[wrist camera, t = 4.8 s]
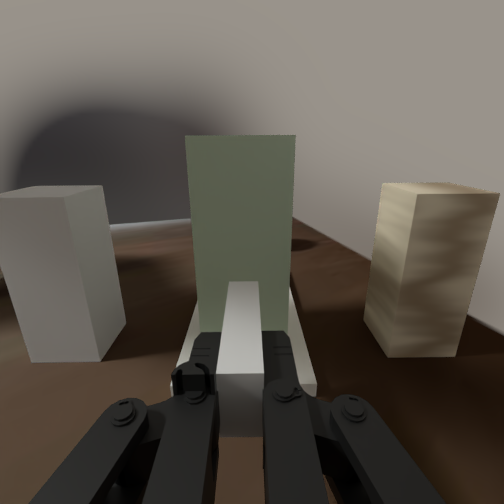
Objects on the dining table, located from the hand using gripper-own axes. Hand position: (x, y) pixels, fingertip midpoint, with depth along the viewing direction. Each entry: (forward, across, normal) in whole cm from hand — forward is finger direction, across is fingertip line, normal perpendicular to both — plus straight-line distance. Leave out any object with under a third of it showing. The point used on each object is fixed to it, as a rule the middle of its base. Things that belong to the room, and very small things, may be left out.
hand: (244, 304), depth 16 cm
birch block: (+7, +13, -7) cm, 16 cm away
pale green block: (+7, 0, -6) cm, 9 cm away
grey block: (+7, -13, -7) cm, 16 cm away
